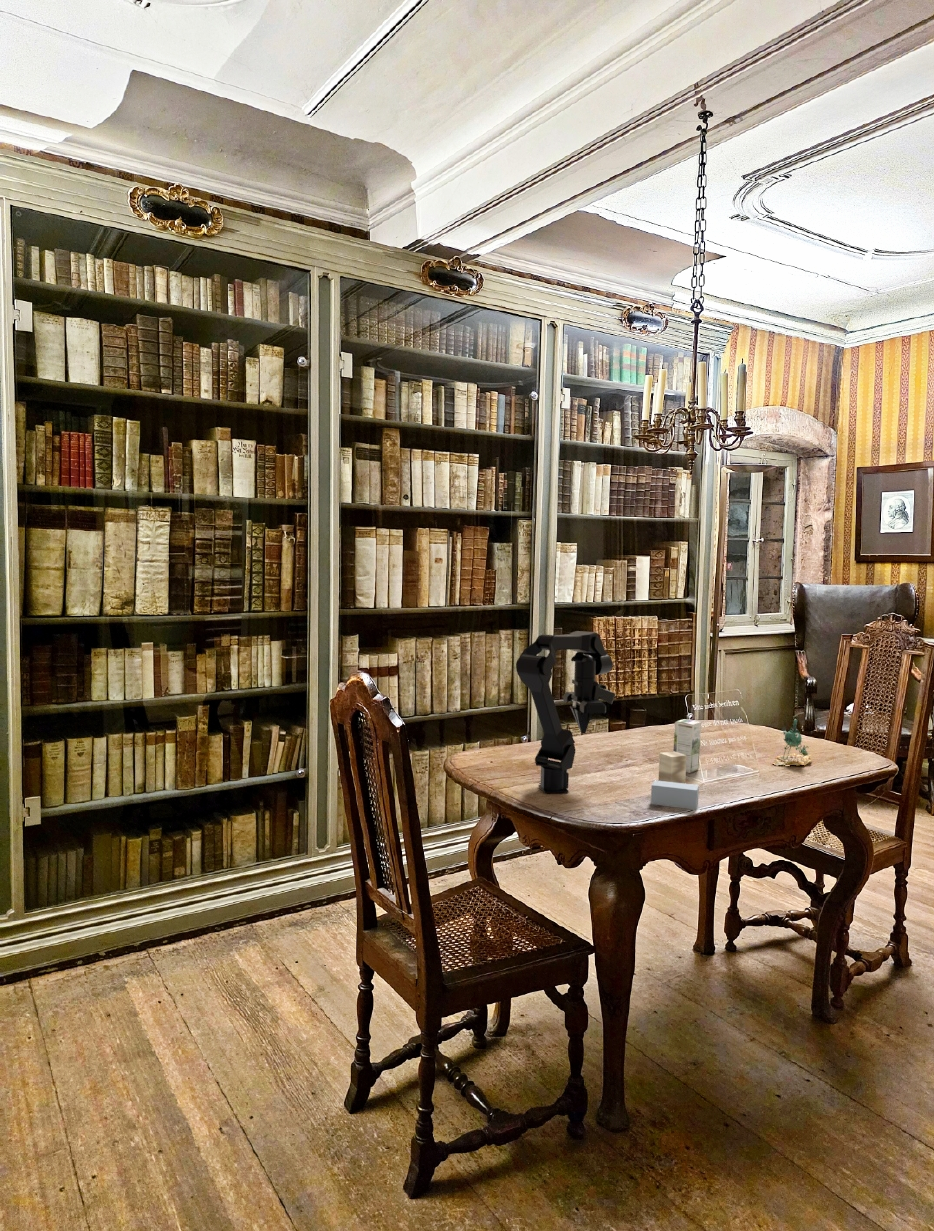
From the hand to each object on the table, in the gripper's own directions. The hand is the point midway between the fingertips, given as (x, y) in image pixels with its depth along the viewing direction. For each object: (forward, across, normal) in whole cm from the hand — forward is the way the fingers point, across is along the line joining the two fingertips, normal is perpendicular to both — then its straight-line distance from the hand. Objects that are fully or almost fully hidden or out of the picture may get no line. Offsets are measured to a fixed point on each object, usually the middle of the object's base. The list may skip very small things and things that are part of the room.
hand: (583, 733), depth 224 cm
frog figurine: (+13, +10, -72) cm, 74 cm away
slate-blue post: (+11, -22, -11) cm, 27 cm away
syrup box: (+13, +6, -34) cm, 37 cm away
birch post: (+13, -10, -22) cm, 27 cm away
